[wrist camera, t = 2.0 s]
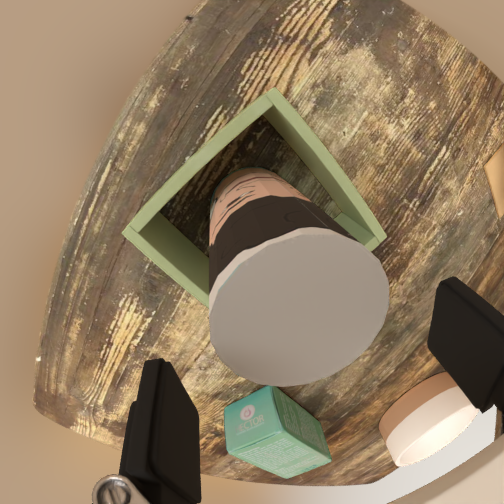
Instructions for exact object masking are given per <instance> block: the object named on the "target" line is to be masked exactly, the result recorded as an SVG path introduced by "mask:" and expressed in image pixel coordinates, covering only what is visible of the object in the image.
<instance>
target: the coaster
mask: <svg viewBox="0 0 504 504" xmlns="http://www.w3.org/2000/svg"><path fill="white" fill-rule="evenodd" d="M483 168H484V171H485V174H486V177H487V180H488V183H489V186H490V189H491V193H492V196H493V200H494V203H495V207H496V211H497V215H498V218H501V217H502V215H503V214H504V142H503V143H502V145H501V146H500V147H499V148H498V150H497V151H496V152H495V153H494V155H493V156H492V157H491V158H490V159H489V161H488V162H487V163H486V164H485V165H484V167H483Z"/></svg>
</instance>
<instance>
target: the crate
mask: <svg viewBox="0 0 504 504" xmlns="http://www.w3.org/2000/svg"><path fill="white" fill-rule="evenodd" d="M261 115H263V116H264V117H265V118H266V119H267V120H268V122H269V123H270V124H271V125H272V126H273V127H274V128H275V129H276V131H277V132H278V133H279V134H280V135H281V136H282V137H283V139H284V140H285V141H286V142H287V143H288V144H289V146H290V147H291V148H292V149H293V150H294V151H295V153H296V154H297V155H298V156H299V157H300V159H301V160H302V161H303V162H304V164H305V165H306V166H307V167H308V168H309V170H310V171H311V172H312V173H313V175H314V176H315V177H316V178H317V180H318V181H319V182H320V183H321V185H322V186H323V187H324V189H325V190H326V191H327V192H328V194H329V195H330V196H331V198H332V199H333V200H334V202H335V203H336V204H337V206H338V207H339V208H340V210H341V211H342V212H341V213H340V214H339V215H338V216H337V217H336V218H334V219H333V220H334V221H336V222H337V223H338V224H339V225H340V226H342V227H343V228H344V229H345V230H346V231H347V232H349V233H350V234H351V235H352V236H353V237H354V238H356V239H357V240H358V241H359V242H360V243H361V244H362V245H363V246H365V247H366V248H367V249H368V250H369V251H370V252H371V251H372V250H374V249H375V248H376V247H377V246H378V245H379V243H381V242H382V241H383V240H384V239H385V238H386V237H387V235H386V233H385V232H384V230H383V228H382V227H381V225H380V224H379V222H378V221H377V219H376V217H375V216H374V214H373V213H372V211H371V210H370V208H369V207H368V205H367V204H366V202H365V201H364V199H363V198H362V196H361V195H360V193H359V192H358V191H357V189H356V188H355V186H354V185H353V183H352V182H351V181H350V179H349V178H348V176H347V175H346V174H345V172H344V171H343V169H342V168H341V167H340V165H339V164H338V163H337V161H336V160H335V159H334V157H333V156H332V155H331V153H330V152H329V151H328V149H327V148H326V147H325V146H324V144H323V143H322V142H321V140H320V139H319V138H318V137H317V135H316V134H315V133H314V132H313V130H312V129H311V128H310V127H309V126H308V124H307V123H306V122H305V121H304V119H303V118H302V117H301V116H300V115H299V113H298V112H297V111H296V110H295V109H294V108H293V106H292V105H291V104H290V103H289V102H288V101H287V100H286V98H285V97H284V96H283V95H282V94H281V93H280V92H279V91H278V89H277V88H276V87H273V88H272V89H270V90H269V91H267V92H266V93H264V94H263V95H261V96H260V97H258V98H257V99H256V100H255V101H253V102H252V103H251V104H250V105H248V106H247V107H246V108H245V109H244V110H243V111H241V112H240V113H239V114H238V115H237V116H236V117H234V118H233V119H232V120H231V121H230V122H229V123H227V124H226V125H225V126H224V127H223V128H222V129H221V130H220V131H219V132H217V133H216V134H215V135H214V136H213V137H212V138H211V139H210V140H209V141H208V142H206V143H205V144H204V145H203V146H202V147H201V148H200V149H199V150H198V151H197V152H196V153H195V154H194V155H193V156H192V157H191V158H190V159H189V160H188V161H186V162H185V163H184V164H183V165H182V166H181V167H180V168H179V169H178V170H177V171H176V172H175V173H174V174H173V175H172V176H171V177H170V178H169V179H168V180H167V181H166V183H165V184H164V185H163V186H162V187H161V188H160V189H159V190H158V191H157V192H156V193H155V194H154V195H153V196H152V197H151V198H150V199H149V200H148V202H147V203H146V204H145V205H144V206H143V207H142V208H141V209H140V210H139V212H138V213H137V214H136V215H135V217H134V218H133V219H132V220H131V222H130V223H129V224H128V225H127V227H126V228H125V229H124V230H123V232H122V234H123V235H124V236H125V237H126V238H127V239H128V240H129V241H130V242H131V243H133V244H134V245H135V246H136V247H137V248H138V249H139V250H140V251H141V252H142V253H144V254H145V255H146V256H147V257H148V258H149V259H150V260H151V261H153V262H154V263H155V264H156V265H157V266H158V267H159V268H161V269H162V270H163V271H164V272H165V273H166V274H168V275H169V276H170V277H171V278H172V279H173V280H175V281H176V282H177V283H178V284H179V285H180V286H182V287H183V288H184V289H185V290H186V291H188V292H189V293H190V294H191V295H192V296H194V297H195V298H196V299H197V300H199V301H200V302H201V303H202V304H203V305H205V306H206V307H207V308H208V309H209V258H208V257H207V256H206V255H205V254H204V253H203V252H202V251H201V250H200V249H198V248H197V247H196V246H195V245H194V244H193V243H192V242H191V241H190V240H189V239H188V238H187V237H185V236H184V235H183V234H182V233H181V232H180V231H179V230H178V229H177V228H176V227H175V226H174V225H173V224H172V223H171V222H169V221H168V220H167V219H166V218H165V217H164V216H163V215H162V214H161V213H160V212H159V210H160V209H161V208H162V207H163V206H164V205H165V204H166V203H167V202H168V201H169V200H170V199H171V198H172V197H173V196H174V195H175V194H176V193H177V192H178V191H179V190H180V189H181V188H182V187H183V186H184V185H185V184H186V183H187V182H188V181H189V180H190V179H191V178H192V177H193V176H194V175H195V174H196V173H197V172H198V171H200V170H201V169H202V168H203V167H204V166H205V165H206V164H207V163H208V162H209V161H210V160H211V159H212V158H213V157H214V156H216V155H217V154H218V153H219V152H220V151H221V150H222V149H223V148H224V147H225V146H226V145H228V144H229V143H230V142H231V141H232V140H233V139H234V138H235V137H237V136H238V135H239V134H240V133H241V132H242V131H243V130H245V129H246V128H247V127H248V126H249V125H250V124H252V123H253V122H254V121H255V120H256V119H257V118H259V117H260V116H261Z"/></svg>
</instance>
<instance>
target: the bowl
mask: <svg viewBox="0 0 504 504" xmlns="http://www.w3.org/2000/svg"><path fill="white" fill-rule="evenodd" d="M478 411H479V409H476V408H475V407H474V406H473V405H472V403H471V402H470V401H469V399H468V398H467V397H466V395H465V394H464V393H463V391H462V390H461V389H460V388H459V386H458V385H457V384H456V382H455V381H454V380H453V379H452V377H451V376H450V375H449V374H448V372H443V373H439V374H436V375H434V376H432V377H430V378H428V379H426V380H424V381H422V382H421V383H419V384H418V385H416V386H415V387H413V388H412V389H410V390H409V391H408V392H406V393H405V394H404V395H403V396H401V397H400V398H399V399H398V400H397V401H396V402H395V403H394V404H393V405H392V406H391V407H390V408H389V409H388V410H387V411H386V412H385V414H384V415H383V417H382V418H381V420H380V423H379V431H380V433H381V435H382V437H383V439H384V441H385V443H386V446H387V448H388V450H389V452H390V454H391V456H392V458H393V460H394V462H395V464H396V465H397V466H407V465H411V464H414V463H416V462H419V461H421V460H423V459H425V458H427V457H429V456H431V455H432V454H434V453H436V452H438V451H439V450H440V449H442V448H444V447H445V446H446V445H448V444H449V443H450V442H451V441H453V440H454V439H455V438H456V437H457V436H459V435H460V434H461V433H462V432H463V431H464V430H465V429H466V428H467V427H468V425H469V424H470V423H471V422H472V421H473V419H474V418H475V416H476V415H477V413H478Z"/></svg>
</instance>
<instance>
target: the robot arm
mask: <svg viewBox="0 0 504 504" xmlns="http://www.w3.org/2000/svg"><path fill="white" fill-rule="evenodd" d="M427 344H428V348H429V350H430V351H431V353H432V354H433V355H434V356H435V357H436V359H437V360H438V361H439V362H440V364H441V365H442V366H443V367H444V369H445V370H446V371H447V372H448V374H449V375H450V376H451V377H452V379H453V380H454V381H455V382H456V384H457V385H458V386H459V388H460V389H461V390H462V391H463V393H464V394H465V395H466V397H467V398H468V399H469V401H470V402H471V403H472V405H473V406H474V407H475V408H476V409H480V411H481V412H482V413H484V412H485V411H487V410H488V409H490V408H491V407H492V406H493V405H494V404H495V406H496V407H497V415H496V428H495V439H494V442H492V443H491V444H490V445H489V446H487V447H486V448H484V449H483V450H482V451H480V452H479V453H477V454H476V455H475V456H473V457H471V458H470V459H469V460H467V461H466V462H464V463H462V464H461V465H459V466H458V467H456V468H455V469H453V470H451V471H450V472H448V473H447V474H445V475H443V476H441V477H439V478H438V479H436V480H434V481H432V482H431V483H429V484H427V485H425V486H423V487H421V488H419V489H417V490H415V491H413V492H412V493H409V494H408V495H405V496H403V497H401V498H399V499H396V500H394V501H392V502H390V503H387V504H504V316H503V315H502V314H501V313H500V312H499V311H498V310H496V309H495V308H494V307H493V306H492V305H490V304H489V303H488V302H487V301H486V300H484V299H483V298H482V297H481V296H479V295H478V294H477V293H476V292H474V291H473V290H472V289H471V288H469V287H468V286H467V285H466V284H464V283H463V282H462V281H460V280H459V279H458V278H456V277H450V278H448V279H445V280H443V281H441V282H440V283H439V286H438V287H437V290H436V296H435V303H434V309H433V315H432V321H431V326H430V331H429V336H428V341H427ZM200 479H201V478H200V443H199V415H198V411H197V409H196V407H195V405H194V404H193V402H192V400H191V399H190V397H189V395H188V393H187V392H186V390H185V388H184V386H183V384H182V383H181V381H180V379H179V377H178V375H177V374H176V372H175V370H174V368H173V366H172V364H171V363H170V362H165V360H164V359H163V358H159V359H153V360H147V361H145V363H144V367H143V371H142V376H141V381H140V385H139V390H138V395H137V401H134V402H133V403H132V404H131V407H130V411H129V416H128V421H127V426H126V432H125V438H124V443H123V449H122V456H121V462H120V469H119V475H116V474H112V475H107V476H105V477H103V478H101V479H100V480H99V481H98V482H97V483H96V485H95V486H94V488H93V492H92V501H93V503H92V504H197V503H200V502H201V480H200Z"/></svg>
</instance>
